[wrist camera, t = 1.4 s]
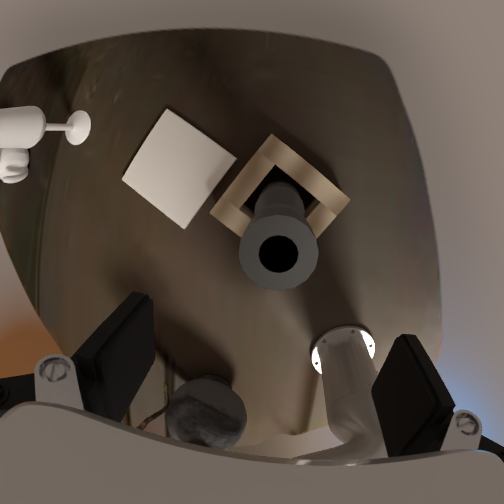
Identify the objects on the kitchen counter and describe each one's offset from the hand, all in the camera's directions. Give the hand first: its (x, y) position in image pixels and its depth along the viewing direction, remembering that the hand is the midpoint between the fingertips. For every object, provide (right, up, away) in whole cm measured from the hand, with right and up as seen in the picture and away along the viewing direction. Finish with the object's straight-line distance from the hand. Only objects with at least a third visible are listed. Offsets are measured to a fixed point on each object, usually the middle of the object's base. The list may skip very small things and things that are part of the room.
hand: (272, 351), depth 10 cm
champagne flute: (-33, +27, +33) cm, 53 cm away
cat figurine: (-51, +24, +35) cm, 66 cm away
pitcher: (-10, -25, +48) cm, 55 cm away
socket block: (+4, +12, +34) cm, 36 cm away
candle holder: (+4, +12, +34) cm, 36 cm away
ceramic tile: (-13, +17, +34) cm, 40 cm away
